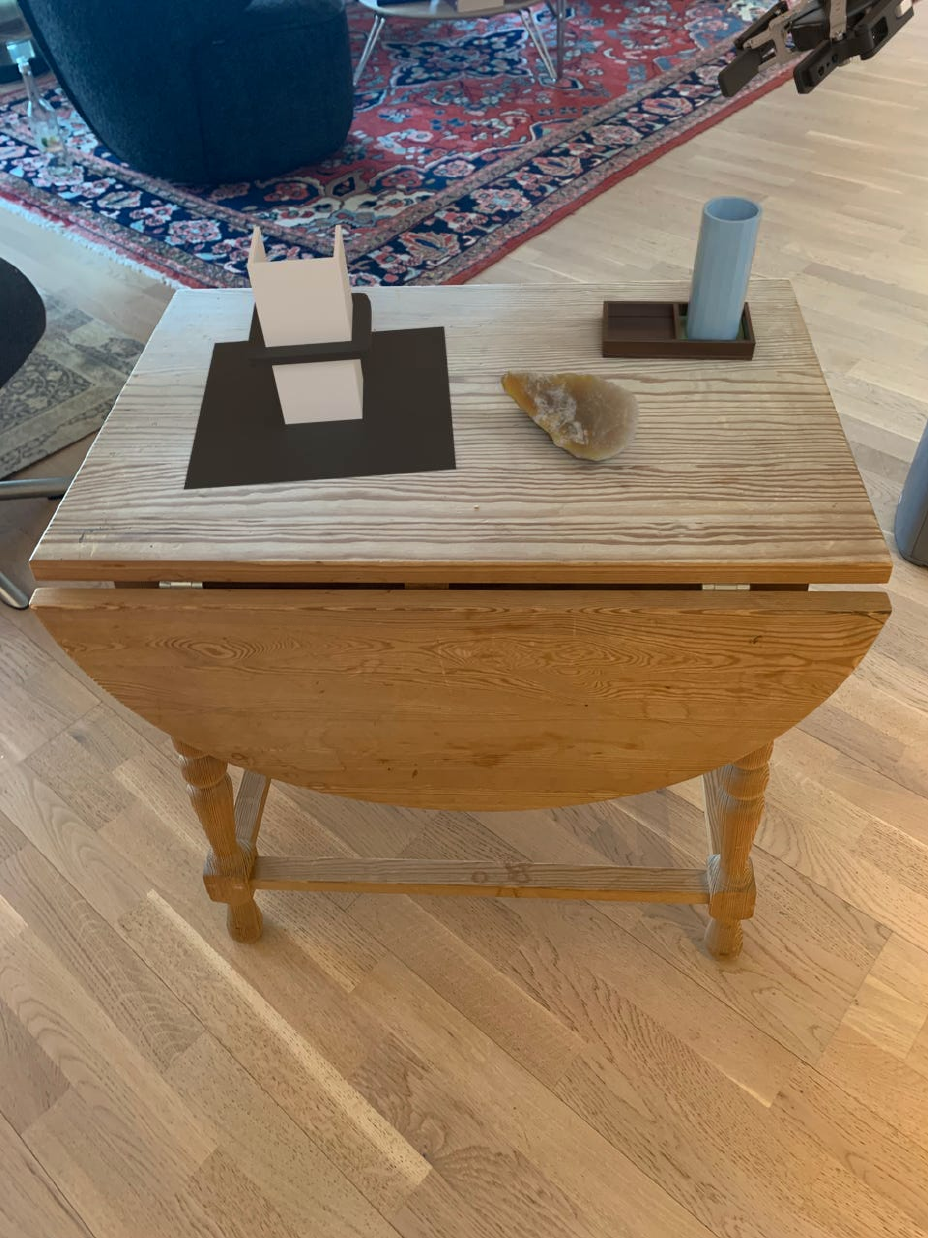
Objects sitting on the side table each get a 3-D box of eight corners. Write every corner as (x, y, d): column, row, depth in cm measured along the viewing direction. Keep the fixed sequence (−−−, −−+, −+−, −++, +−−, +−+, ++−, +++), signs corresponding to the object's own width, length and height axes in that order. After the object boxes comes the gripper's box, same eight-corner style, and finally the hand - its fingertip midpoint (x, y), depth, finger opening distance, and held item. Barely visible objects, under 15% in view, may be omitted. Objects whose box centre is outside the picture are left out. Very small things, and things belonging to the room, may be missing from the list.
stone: (634, 411, 78) (487, 352, 84) (615, 478, 82) (475, 417, 87) (667, 390, 83) (526, 335, 89) (647, 453, 87) (513, 397, 93)
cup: (732, 317, 98) (756, 194, 88) (742, 346, 95) (767, 221, 85) (681, 319, 98) (699, 197, 89) (688, 347, 95) (708, 223, 85)
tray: (602, 317, 100) (603, 300, 99) (744, 318, 99) (748, 301, 97) (602, 357, 95) (603, 340, 94) (752, 360, 94) (756, 342, 92)
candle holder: (444, 326, 101) (433, 172, 88) (456, 469, 85) (445, 305, 72) (214, 342, 100) (172, 191, 88) (183, 489, 84) (126, 328, 72)
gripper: (813, -71, 81) (685, 47, 80) (959, -104, 70) (814, 33, 69) (834, 15, 86) (714, 128, 84) (974, -3, 75) (839, 127, 73)
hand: (759, 85), depth 77 cm, fingers open, 8 cm apart
